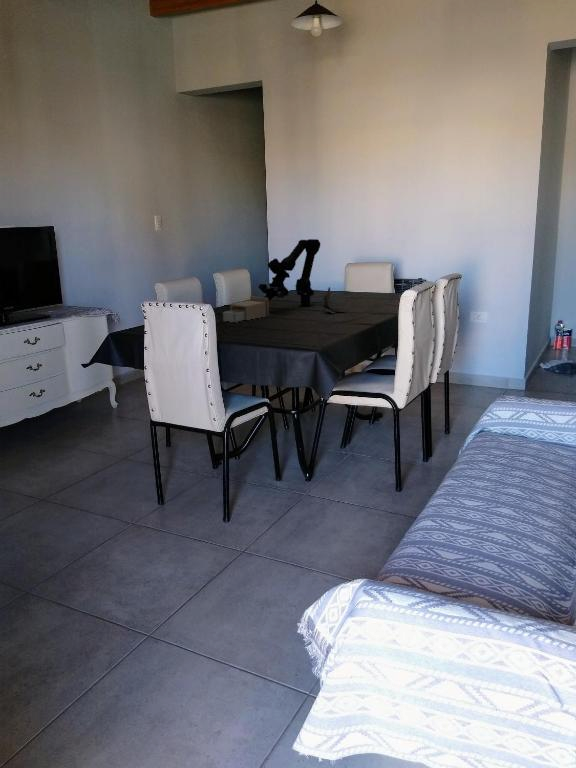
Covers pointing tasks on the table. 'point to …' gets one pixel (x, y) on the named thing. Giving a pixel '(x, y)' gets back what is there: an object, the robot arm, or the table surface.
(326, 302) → the butterfly
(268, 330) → the table surface
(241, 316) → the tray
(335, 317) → the table surface
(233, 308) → the sleeve
